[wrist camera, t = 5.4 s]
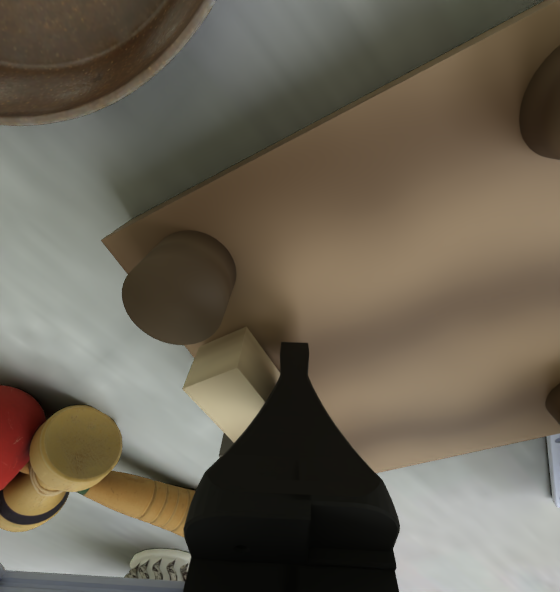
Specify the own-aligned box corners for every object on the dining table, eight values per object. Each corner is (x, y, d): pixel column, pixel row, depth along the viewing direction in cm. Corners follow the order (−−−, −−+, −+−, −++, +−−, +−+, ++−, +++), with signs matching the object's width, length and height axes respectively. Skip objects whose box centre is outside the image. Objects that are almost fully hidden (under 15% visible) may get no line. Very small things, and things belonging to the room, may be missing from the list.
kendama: (237, 455, 25) (-23, 344, 17) (221, 559, 20) (-151, 478, 12) (183, 472, 29) (-49, 390, 21) (158, 562, 24) (-152, 503, 16)
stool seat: (600, 376, 17) (709, 473, 13) (298, 452, 22) (299, 542, 17) (612, -36, 9) (920, -175, 5) (130, 219, 14) (50, 274, 9)
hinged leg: (352, 470, 18) (360, 517, 16) (310, 480, 19) (312, 527, 17) (248, 325, 13) (239, 366, 11) (197, 347, 14) (180, 389, 12)
